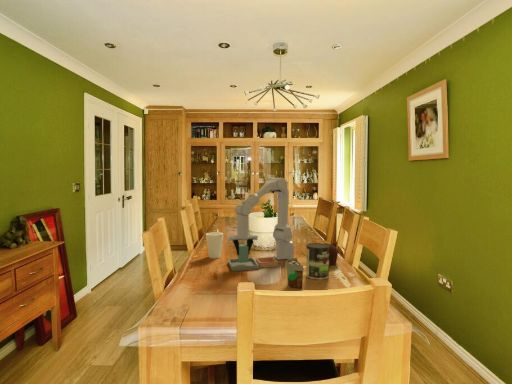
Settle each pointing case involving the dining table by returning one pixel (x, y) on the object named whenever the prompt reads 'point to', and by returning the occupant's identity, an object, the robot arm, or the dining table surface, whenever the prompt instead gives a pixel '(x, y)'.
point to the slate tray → (243, 265)
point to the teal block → (243, 253)
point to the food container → (294, 273)
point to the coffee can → (317, 261)
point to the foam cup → (214, 244)
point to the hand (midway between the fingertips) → (243, 254)
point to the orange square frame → (267, 262)
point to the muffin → (332, 254)
